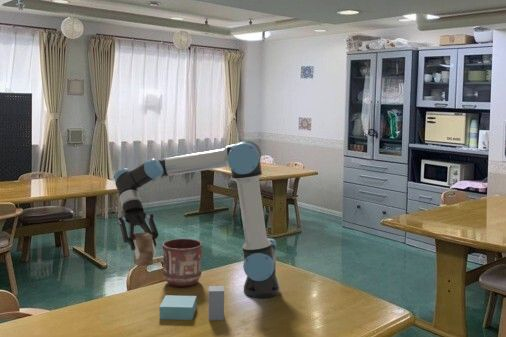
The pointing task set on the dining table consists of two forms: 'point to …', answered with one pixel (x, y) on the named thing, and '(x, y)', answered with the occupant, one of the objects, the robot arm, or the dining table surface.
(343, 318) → the dining table surface
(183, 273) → the pottery
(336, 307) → the dining table surface
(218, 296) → the slate block
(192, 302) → the teal base block
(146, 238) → the walnut block
